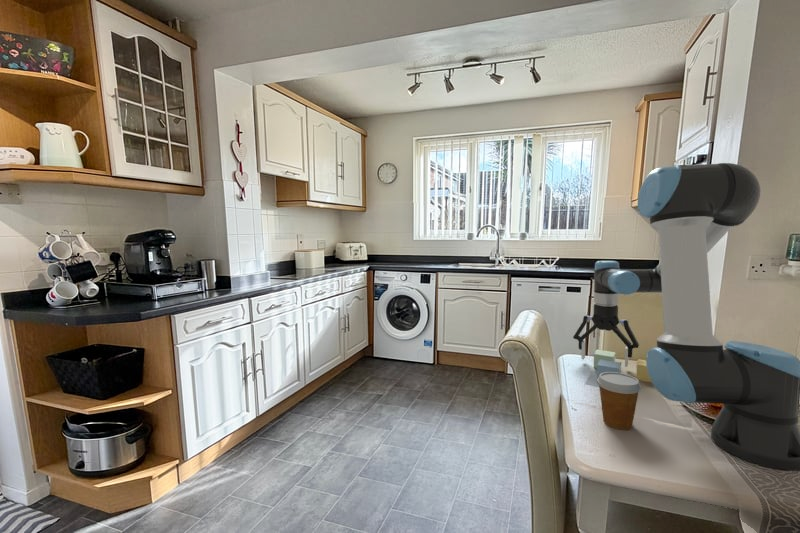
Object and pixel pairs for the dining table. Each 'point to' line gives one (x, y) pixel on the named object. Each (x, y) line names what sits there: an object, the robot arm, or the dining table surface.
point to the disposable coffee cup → (618, 398)
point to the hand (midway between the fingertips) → (604, 361)
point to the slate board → (592, 379)
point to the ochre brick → (642, 371)
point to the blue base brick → (608, 367)
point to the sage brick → (603, 356)
